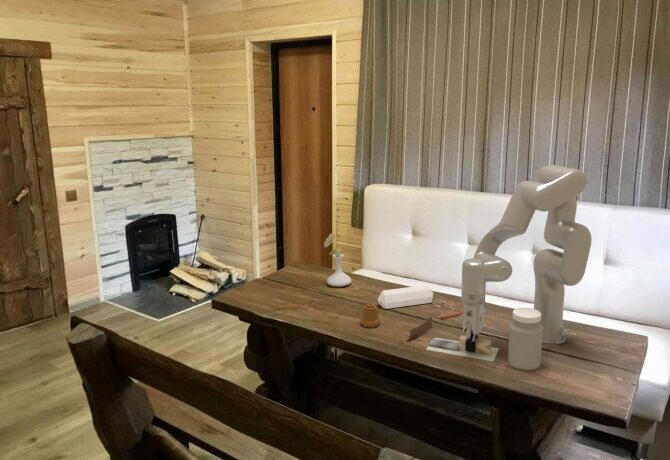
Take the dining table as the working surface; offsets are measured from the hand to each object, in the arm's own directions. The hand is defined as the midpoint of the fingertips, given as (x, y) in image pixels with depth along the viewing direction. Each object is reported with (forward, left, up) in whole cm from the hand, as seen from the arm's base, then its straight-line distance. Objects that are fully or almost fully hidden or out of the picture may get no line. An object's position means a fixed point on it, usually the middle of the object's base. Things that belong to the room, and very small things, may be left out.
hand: (471, 348), depth 185 cm
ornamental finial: (+40, -9, -2) cm, 41 cm away
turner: (+4, 0, -1) cm, 4 cm away
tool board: (+3, 0, -2) cm, 3 cm away
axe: (+10, -32, -2) cm, 33 cm away
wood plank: (+20, -6, -2) cm, 21 cm away
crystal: (+35, -34, -2) cm, 49 cm away
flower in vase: (+71, -44, -2) cm, 84 cm away
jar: (-17, +2, -2) cm, 17 cm away
